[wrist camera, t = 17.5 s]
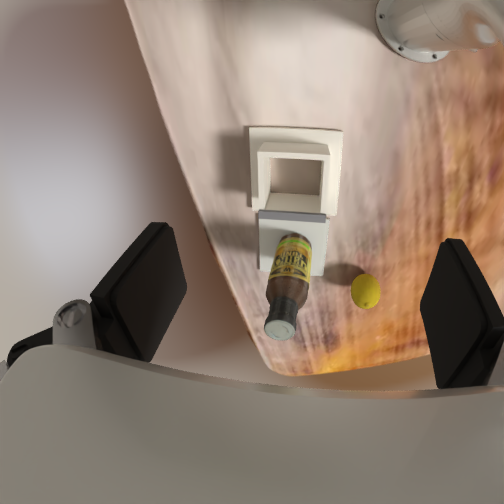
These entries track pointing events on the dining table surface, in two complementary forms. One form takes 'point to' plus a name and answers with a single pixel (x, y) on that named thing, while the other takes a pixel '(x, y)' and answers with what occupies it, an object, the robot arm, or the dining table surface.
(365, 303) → the lemon
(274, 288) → the sauce bottle
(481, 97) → the dining table surface
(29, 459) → the robot arm
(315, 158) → the caddy
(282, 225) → the mat
